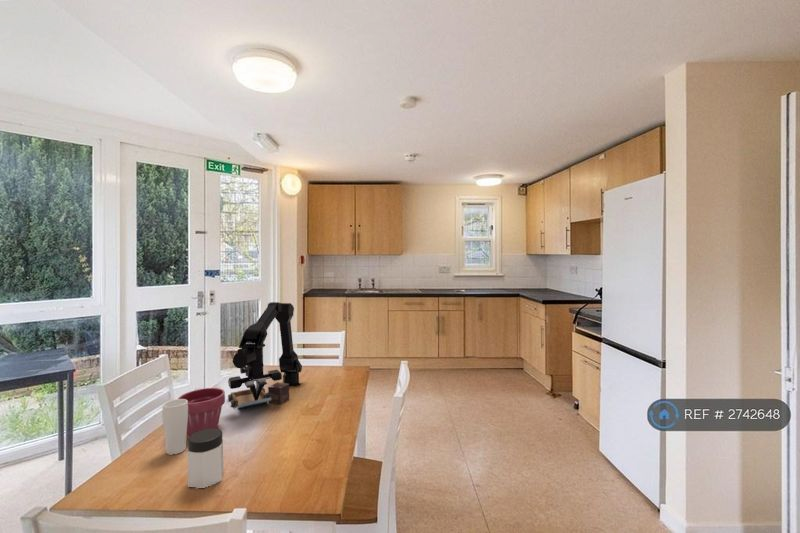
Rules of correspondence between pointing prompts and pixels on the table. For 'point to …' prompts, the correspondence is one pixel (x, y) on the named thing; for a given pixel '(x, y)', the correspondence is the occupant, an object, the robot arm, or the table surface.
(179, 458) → the table surface
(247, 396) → the bed
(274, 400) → the box
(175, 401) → the drinking glass
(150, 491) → the table surface
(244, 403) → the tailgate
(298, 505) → the table surface
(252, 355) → the robot arm
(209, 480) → the jar
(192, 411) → the plant pot
